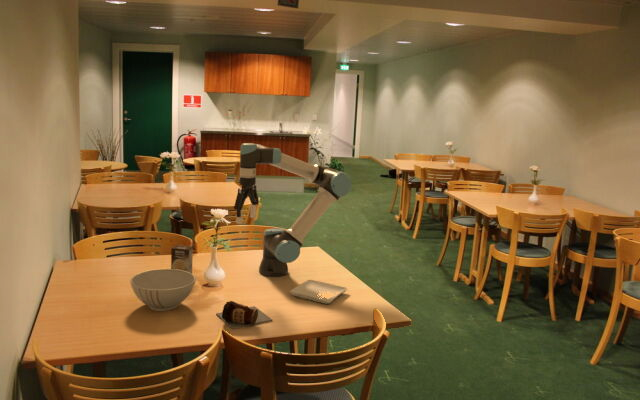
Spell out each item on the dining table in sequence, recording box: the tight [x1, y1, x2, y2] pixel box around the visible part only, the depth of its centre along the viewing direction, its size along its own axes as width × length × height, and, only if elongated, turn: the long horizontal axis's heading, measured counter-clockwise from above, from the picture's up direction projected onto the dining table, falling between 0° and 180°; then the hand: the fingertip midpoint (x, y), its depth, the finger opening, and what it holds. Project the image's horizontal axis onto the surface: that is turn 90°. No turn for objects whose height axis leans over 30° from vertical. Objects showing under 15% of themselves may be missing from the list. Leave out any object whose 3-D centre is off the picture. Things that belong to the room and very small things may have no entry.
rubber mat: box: [215, 306, 273, 330], centre depth 234 cm, size 18×16×1 cm
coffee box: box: [170, 244, 194, 274], centre depth 274 cm, size 9×6×16 cm
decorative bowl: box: [129, 268, 197, 312], centre depth 240 cm, size 27×27×12 cm
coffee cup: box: [222, 300, 258, 326], centre depth 227 cm, size 9×8×13 cm
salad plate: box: [289, 279, 348, 305], centre depth 264 cm, size 21×21×3 cm
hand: (246, 220), depth 267 cm, fingers open, 13 cm apart
